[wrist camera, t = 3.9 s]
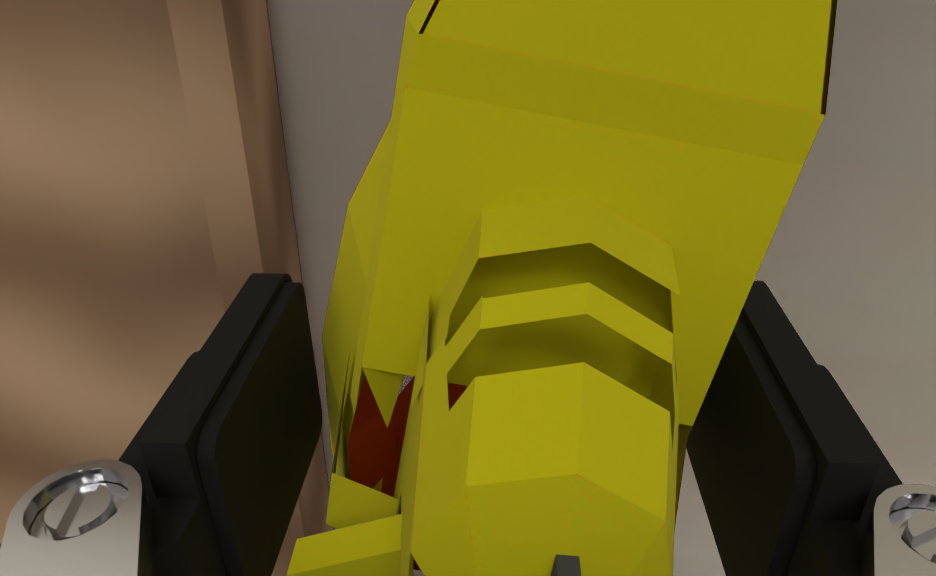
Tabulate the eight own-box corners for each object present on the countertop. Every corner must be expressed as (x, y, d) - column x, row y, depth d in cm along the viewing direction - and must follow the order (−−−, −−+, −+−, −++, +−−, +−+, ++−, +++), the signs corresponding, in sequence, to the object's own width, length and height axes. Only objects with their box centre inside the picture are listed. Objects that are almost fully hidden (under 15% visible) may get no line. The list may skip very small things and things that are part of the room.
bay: (-459, -411, 12) (-672, -488, 10) (725, -454, 11) (778, -549, 9) (28, 672, 26) (-18, 743, 23) (593, 697, 25) (602, 773, 22)
